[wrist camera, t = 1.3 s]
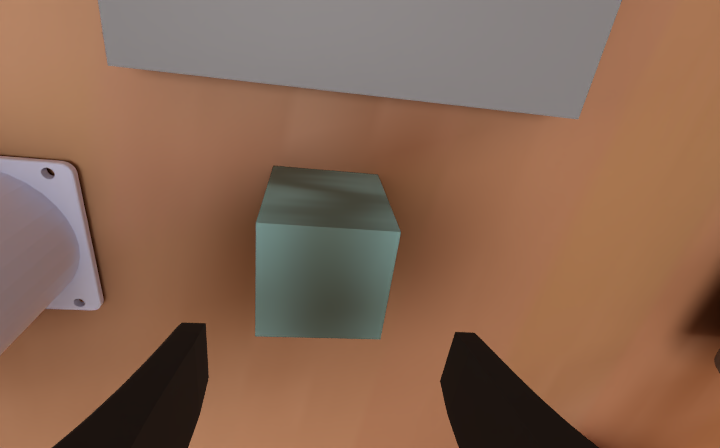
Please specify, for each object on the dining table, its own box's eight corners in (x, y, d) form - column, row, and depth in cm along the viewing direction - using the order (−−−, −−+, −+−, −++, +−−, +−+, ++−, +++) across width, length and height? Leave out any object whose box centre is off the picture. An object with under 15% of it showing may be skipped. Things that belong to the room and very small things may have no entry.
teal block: (271, 255, 21) (255, 336, 15) (273, 165, 18) (255, 222, 13) (364, 260, 21) (380, 339, 16) (377, 174, 19) (400, 232, 14)
